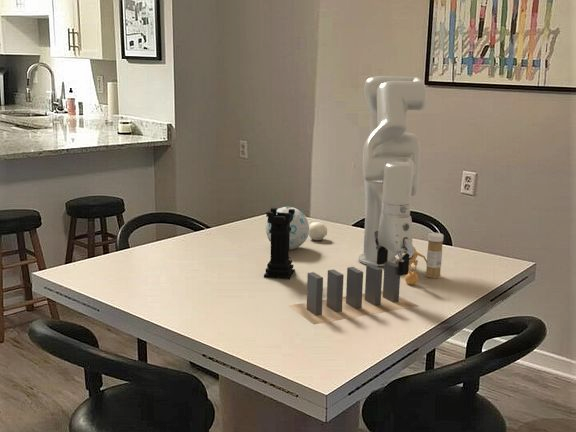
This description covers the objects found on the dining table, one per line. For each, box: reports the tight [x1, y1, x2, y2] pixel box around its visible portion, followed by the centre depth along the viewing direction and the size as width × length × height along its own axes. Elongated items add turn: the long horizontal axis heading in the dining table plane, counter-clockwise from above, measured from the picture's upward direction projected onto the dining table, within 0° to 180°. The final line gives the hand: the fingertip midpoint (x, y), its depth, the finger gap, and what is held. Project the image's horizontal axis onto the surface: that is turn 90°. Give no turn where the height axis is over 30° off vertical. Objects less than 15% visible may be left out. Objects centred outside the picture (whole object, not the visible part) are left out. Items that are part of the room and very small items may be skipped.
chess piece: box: [263, 207, 296, 281], centre depth 197 cm, size 8×8×20 cm
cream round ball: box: [308, 221, 328, 241], centre depth 240 cm, size 7×7×7 cm
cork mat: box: [288, 290, 419, 325], centre depth 173 cm, size 32×14×1 cm, turn 116°
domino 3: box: [345, 266, 364, 309], centre depth 172 cm, size 2×5×10 cm, turn 26°
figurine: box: [398, 248, 427, 286], centre depth 190 cm, size 8×6×12 cm
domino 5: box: [382, 262, 401, 303], centre depth 177 cm, size 2×5×10 cm, turn 27°
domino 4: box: [364, 264, 383, 306], centre depth 175 cm, size 2×5×10 cm, turn 26°
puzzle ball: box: [265, 206, 310, 251], centre depth 226 cm, size 15×15×15 cm
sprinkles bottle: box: [425, 232, 444, 279], centre depth 199 cm, size 5×5×14 cm
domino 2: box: [326, 269, 345, 312], centre depth 170 cm, size 2×5×10 cm, turn 26°
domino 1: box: [306, 271, 324, 316], centre depth 167 cm, size 2×5×10 cm, turn 27°
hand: (392, 269), depth 178 cm, fingers open, 9 cm apart
